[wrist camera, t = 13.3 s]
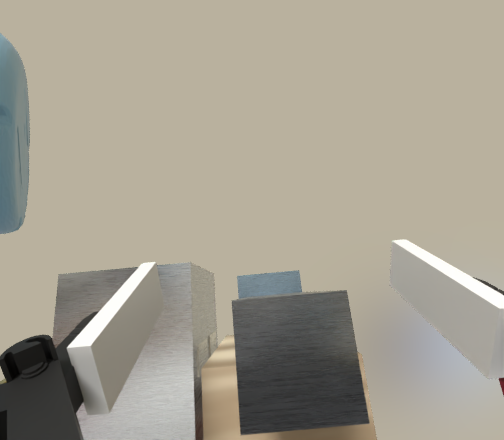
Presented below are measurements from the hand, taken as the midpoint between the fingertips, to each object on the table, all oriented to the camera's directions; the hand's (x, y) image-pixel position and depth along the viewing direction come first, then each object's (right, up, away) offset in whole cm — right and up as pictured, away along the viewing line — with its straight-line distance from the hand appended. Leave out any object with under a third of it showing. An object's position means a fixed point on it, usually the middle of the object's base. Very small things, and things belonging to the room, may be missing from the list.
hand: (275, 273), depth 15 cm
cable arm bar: (+1, -6, +4) cm, 7 cm away
